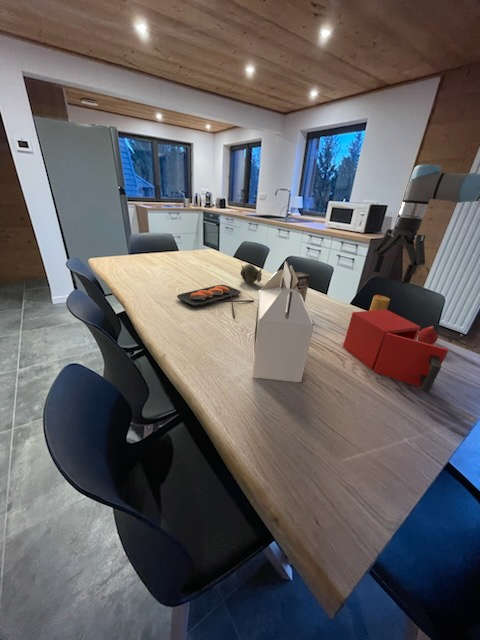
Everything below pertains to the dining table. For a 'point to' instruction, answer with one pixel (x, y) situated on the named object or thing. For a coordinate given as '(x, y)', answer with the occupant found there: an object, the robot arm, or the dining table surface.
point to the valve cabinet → (375, 333)
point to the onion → (428, 335)
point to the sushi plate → (210, 295)
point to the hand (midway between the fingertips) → (390, 277)
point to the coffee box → (302, 283)
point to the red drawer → (410, 361)
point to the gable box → (281, 329)
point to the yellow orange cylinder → (379, 303)
